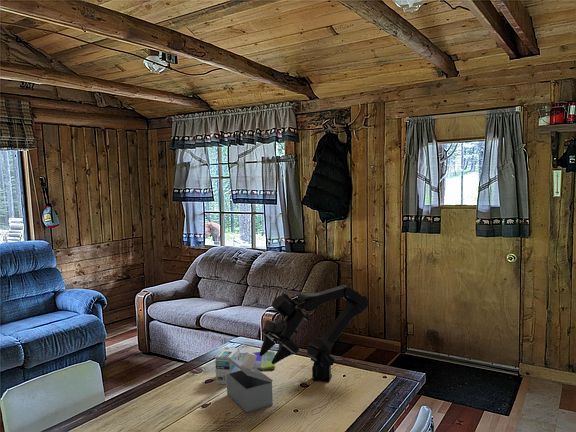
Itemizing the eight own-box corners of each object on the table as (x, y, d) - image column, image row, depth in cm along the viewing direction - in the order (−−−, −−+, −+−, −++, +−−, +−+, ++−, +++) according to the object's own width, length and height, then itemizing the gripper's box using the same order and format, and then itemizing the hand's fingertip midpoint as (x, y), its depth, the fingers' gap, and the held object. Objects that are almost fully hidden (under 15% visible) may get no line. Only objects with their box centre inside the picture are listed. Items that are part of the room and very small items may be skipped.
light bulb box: (232, 385, 173) (231, 357, 172) (215, 384, 175) (214, 356, 174) (240, 373, 184) (239, 347, 183) (224, 372, 185) (223, 346, 184)
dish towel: (274, 372, 185) (274, 365, 185) (215, 373, 186) (215, 366, 186) (277, 356, 202) (277, 349, 202) (222, 356, 203) (222, 350, 203)
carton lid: (250, 366, 170) (256, 351, 171) (271, 382, 155) (278, 366, 156) (228, 359, 165) (234, 344, 166) (247, 375, 151) (254, 358, 152)
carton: (252, 388, 170) (251, 367, 169) (272, 405, 156) (271, 382, 156) (227, 395, 165) (226, 373, 164) (246, 413, 151) (245, 390, 151)
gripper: (265, 305, 173) (239, 340, 168) (290, 317, 157) (263, 355, 152) (283, 322, 177) (259, 356, 173) (310, 335, 161) (284, 372, 157)
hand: (266, 359), depth 163 cm, fingers open, 9 cm apart
